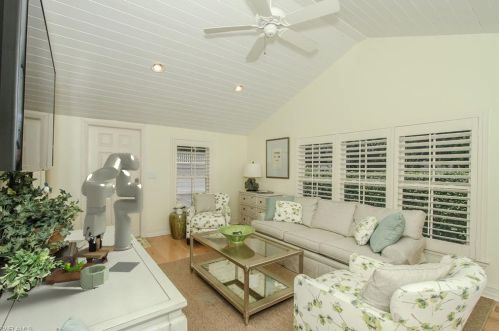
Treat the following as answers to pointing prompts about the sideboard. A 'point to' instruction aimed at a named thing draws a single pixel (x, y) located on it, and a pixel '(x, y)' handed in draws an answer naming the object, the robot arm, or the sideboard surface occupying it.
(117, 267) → the mat
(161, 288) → the sideboard surface
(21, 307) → the sideboard surface
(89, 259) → the brown animal figurine
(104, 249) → the lid
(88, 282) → the bowl
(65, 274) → the plant
